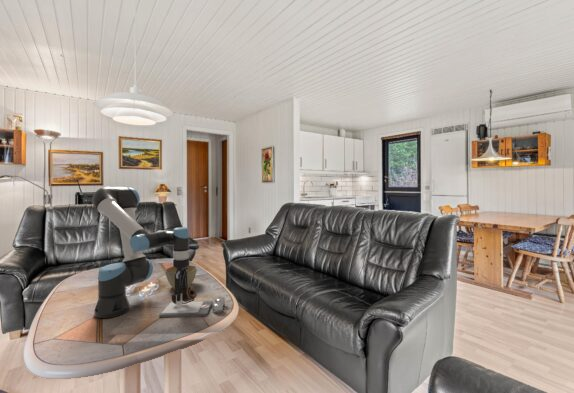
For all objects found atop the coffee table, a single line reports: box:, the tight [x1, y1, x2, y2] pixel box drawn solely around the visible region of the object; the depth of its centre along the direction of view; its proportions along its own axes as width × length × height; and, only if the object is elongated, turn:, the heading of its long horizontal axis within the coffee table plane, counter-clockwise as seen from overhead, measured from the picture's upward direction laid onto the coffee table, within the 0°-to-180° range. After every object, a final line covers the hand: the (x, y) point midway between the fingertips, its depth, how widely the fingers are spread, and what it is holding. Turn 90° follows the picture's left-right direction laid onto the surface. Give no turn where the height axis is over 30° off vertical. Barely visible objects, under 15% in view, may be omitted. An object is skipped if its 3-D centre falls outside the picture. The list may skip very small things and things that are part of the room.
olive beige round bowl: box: [165, 264, 198, 290], centre depth 171 cm, size 18×18×12 cm
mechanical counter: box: [171, 284, 198, 304], centre depth 139 cm, size 7×13×10 cm, turn 93°
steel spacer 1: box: [214, 296, 226, 308], centre depth 144 cm, size 5×5×4 cm
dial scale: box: [158, 300, 214, 318], centre depth 139 cm, size 22×15×2 cm
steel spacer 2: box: [212, 301, 224, 315], centre depth 137 cm, size 5×5×4 cm
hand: (181, 304), depth 139 cm, fingers closed on mechanical counter, 6 cm apart
